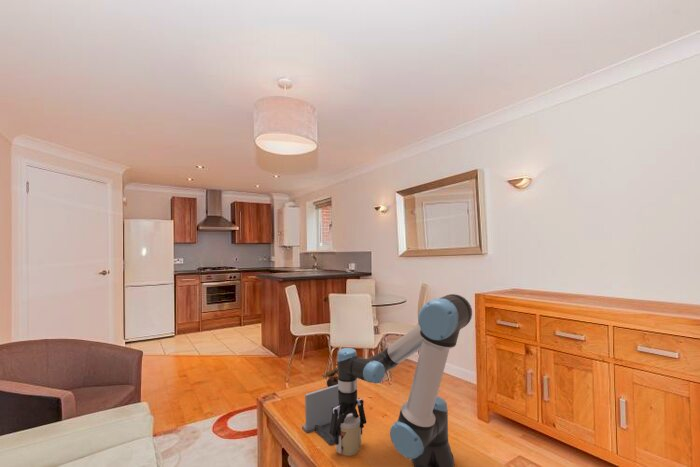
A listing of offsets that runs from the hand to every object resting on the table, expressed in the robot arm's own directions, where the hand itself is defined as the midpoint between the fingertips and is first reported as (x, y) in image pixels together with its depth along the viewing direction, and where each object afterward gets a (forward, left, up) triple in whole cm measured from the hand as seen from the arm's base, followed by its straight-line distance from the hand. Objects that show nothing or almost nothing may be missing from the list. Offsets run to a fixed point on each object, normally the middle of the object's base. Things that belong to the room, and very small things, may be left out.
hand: (348, 447), depth 132 cm
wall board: (+22, -3, -1) cm, 23 cm away
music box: (+31, -14, -1) cm, 34 cm away
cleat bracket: (+14, -3, -1) cm, 14 cm away
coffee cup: (0, 0, -1) cm, 1 cm away
